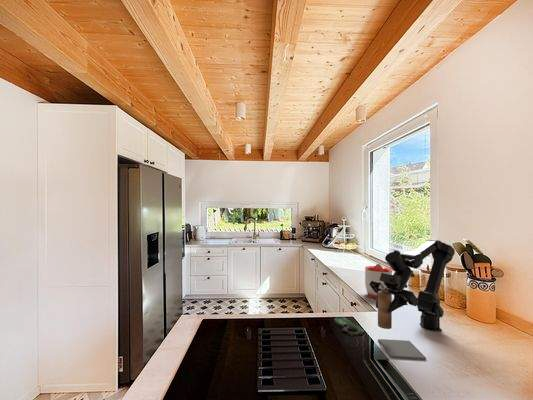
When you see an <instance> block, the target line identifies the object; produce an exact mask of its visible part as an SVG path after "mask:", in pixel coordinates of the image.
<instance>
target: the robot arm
mask: <svg viewBox="0 0 533 400" xmlns="http://www.w3.org/2000/svg"><path fill="white" fill-rule="evenodd" d="M455 253H456V250H455V248H454V247H453V246H452V245H451V244H447V243H445V242H442V241H441V240H440V239H433V238H428V239H427V240H426V241H425V242H424V243H422V244H421V245H419V246H418V247H417V248H415V249H413V250H409V251H405V252H403V253H402V254H401V251H400V250H398V249H397V250H396V249H394V250H393V251H392V252H389V253H387V254H386V255H385V257H384V259H385V262H386V263H387V264H388V266H389V267H390V269H392V271H393V272H394V273H392V275H389V274H385V273H381V276H380V279H379V280H380V281H383V282H384V285H386V287H383V286H382V284H381V283H380V282H377V281H374V280H373V281H371V282H370V284H369V285H370V287H371V288H372V289H373V290H374V292H375V293H377V299H376V302H375V308H376V309H378V291H381V288H385V289H388V292H390V293H392V296H393V298H392V299H393V300H392V303H391V305H390V307H389V309H388V313H391V312H394V311H396V310H397V309H399V308H401V307H404V306H408V304H409V305H411V306H413V307H416V308H417V311H418V312H421V314H420V322H419V325H420V326H421V327H422V328H423V329H425V330H426V331H438V332H439V331H440V332H441V331H443V329H442V328H441V327H440V326H441V325H440V324H441V323H440V321H441V319H440V318H443V317H444V312H445V311H444V309H443V307H441V305H440V304H441V300H440V297H439V291H440V286H441V284H442V281H443V277H444V272H445V268H446V265H448V264H449V263H450V262H451V261H452V260H453V257H454V256H455ZM429 255H432V256H431V257H432V260H433V263H432V265H431V268H430V272H429V276H428V279H427V282H426V286H425V288H424V290H419V292H418V296H416V295H415V292H413V291H410V290H407V288H408V282H409V280H410V278H415V274H414V271H413V270H412V269H416V270H417V269H419V268H420V267H421V266H422V265H423V263H424V259H426V258H427V257H428V256H429Z"/></svg>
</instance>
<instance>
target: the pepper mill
mask: <svg viewBox="0 0 533 400" xmlns="http://www.w3.org/2000/svg"><path fill="white" fill-rule="evenodd" d="M392 296H393V295H392V293H390V292H388V289H385V288H381V291H378V308H377V327H379V328H381V329H384V330H390V329H391V330H392V327H393V323H392V319H393V317H392V316H393V315H392V314H393V313H392V312H393V311H392V312H391V313H388V309H389V307H390V305H391V303H392V301H393V300H392V299H393V298H392Z"/></svg>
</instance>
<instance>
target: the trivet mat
mask: <svg viewBox="0 0 533 400" xmlns="http://www.w3.org/2000/svg"><path fill="white" fill-rule="evenodd" d="M378 343H379V345H380V346H381V347H382V346H383V347H382V348H383V350H384V349H385V350H384V351H385V352H386V354H387V353H388V354H387V355H388V356H389V358H390V359H400V360H403V359H404V360H416V361H418V360H420V361H427V357H426V356H425V355H424V354H423V353H422V352H421V351H420V349H419V348H417V346H415V345H414V343H412V342H411V341H410V340H405V339H404V340H403V339H388V338H387V339H384V338H382V339H381V338H378Z"/></svg>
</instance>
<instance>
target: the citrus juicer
mask: <svg viewBox="0 0 533 400" xmlns="http://www.w3.org/2000/svg"><path fill="white" fill-rule="evenodd" d="M381 273H385V274H389V275H393V270H392V268H391V267H390V268H388V267H383V266H382V265H381V264H380V263H376V265H367V266H365V267H364V275H365V276H364V284H365V289H366V293H367V295H368V296H369V297H370V298H373V299H376V300H377V293H375V292H374V290H373V289H372V288H371V287H370V285H369V284H370V282H371V281H373V280H374V281H377V282H380V283H381V284H382V286H383V287H386V285H384V282H383V281H380V280H379V279H380V276H381Z"/></svg>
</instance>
